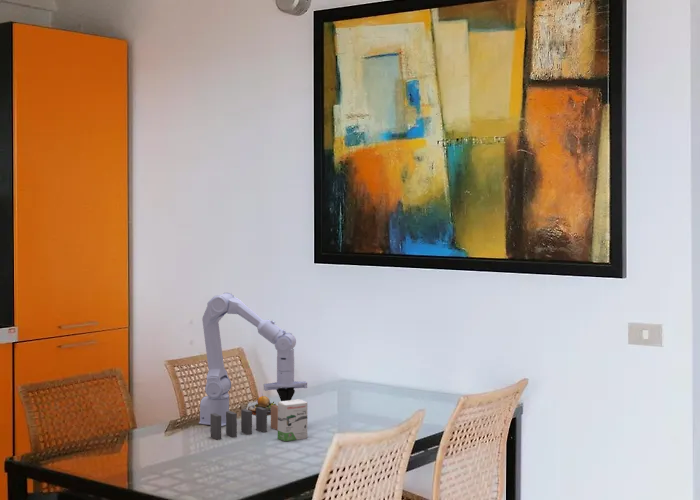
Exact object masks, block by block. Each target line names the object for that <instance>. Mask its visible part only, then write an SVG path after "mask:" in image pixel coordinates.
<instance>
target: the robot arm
mask: <svg viewBox="0 0 700 500" xmlns="http://www.w3.org/2000/svg"><path fill="white" fill-rule="evenodd" d="M226 314H229V315H238V316H240V317H241V318H243V319H244V320H246V321H247V322H249V323H250V324H251V325H253V326H254V327H256V328H257V333H258V334H259V335H261V336H262V337H263V338H264V339H265V340H267V341H268V342H269V343H271V344H272V345H274V349H275V350H276V382H275V381H274V382H270V383H264V384H263V391H268V392H269V391H272V390H273V391H274V390H276V392H277V395H278V397H279V399H280V400H279V401H289V400H293V397H294V395H295V392H296V391H295V389H307V388H308V382H307V381H306V380H305V381H304V380H303V381H295V347H296V345H297V340H296V337H295V336H294V335H293V333H292V332H287V330H286V329H282V328H281V327H280V326H279V325H277V324H275V323H276V321H274V320H273V319H272V320H271V319H263V318H262V317H261V316H260V315H258V313H256V312H255V311H254V310H253V309H251V308H250V307H249V306H248V305H246V304H245V303H244V302H243V301H242V300H241V299H240V298H239V297H236V296H234V295H233V294H232V292H231V293H230V292H224V293H221V294H217V295H214V296H212V298H210V300H209V301H208V302H207V306H206V308H205V311H204V313H203V316H202V318H201V319H202V327H203V328H202V329H203V336H204V343H205V352H206V359H207V368H208V371H207V375H206V377H205V378H206V383H205V388H204V391H205V395H206V396H203V397H202V398H201V401H200V404H199V422H198V424H200V425H208V426H211V414H213V413H216V414H218V415H221V427H224V426H225V427H226V412H227V411H230V394H229V392H230V390H231V388H232V381H231V379H230V377H229V376H228V371H227V369H226V368H225V365H224V355H223V348H222V340H221V339H222V338H221V332H220V325H219V324H220V323H219V322H220V321H221V320H222V318H223V317H224V316H225V315H226Z"/></svg>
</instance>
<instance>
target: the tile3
mask: <svg viewBox="0 0 700 500" xmlns="http://www.w3.org/2000/svg"><path fill="white" fill-rule="evenodd" d="M240 410H241V411H240V417H241V420H240V423H241V424H240V425H241V426H240V427H241V428H240V432H241V433H242V434H245V435H247V436H250V435H253V415H252V411H250V410H248V408H244V409H240Z"/></svg>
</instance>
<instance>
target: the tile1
mask: <svg viewBox="0 0 700 500" xmlns="http://www.w3.org/2000/svg"><path fill="white" fill-rule="evenodd" d="M277 405H278V404H276V405H271V415H270V428H271V429H272V430H273V429H274V430H276V431H278V406H277Z"/></svg>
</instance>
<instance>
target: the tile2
mask: <svg viewBox="0 0 700 500" xmlns="http://www.w3.org/2000/svg"><path fill="white" fill-rule="evenodd" d="M255 430H256V431H258V432H260V433H263V434H264V433H268V415H267V409H265V408H262V407H256V415H255Z"/></svg>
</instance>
